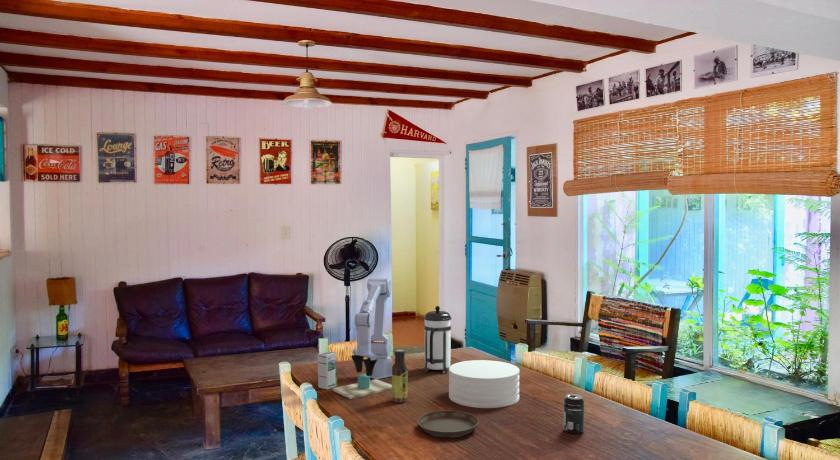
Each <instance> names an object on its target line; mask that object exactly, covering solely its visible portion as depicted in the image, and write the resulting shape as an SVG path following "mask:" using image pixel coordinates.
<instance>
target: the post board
mask: <svg viewBox="0 0 840 460" xmlns="http://www.w3.org/2000/svg"><path fill="white" fill-rule="evenodd" d="M332 391H333V392H334V393H336V394H339V395H341V396H343V397H345V398H347V399H350V400H351V399H355V398H361V397H366V396H369V395H373V394H378V393H382V392H387V391H392V383H388V382H385V381H382V380H380V379H372V380H371V379H370V388H368V389H359V388H358V382H356V383H351V384H347V385H342V386H341V385H340V386H337V387H333V388H332Z"/></svg>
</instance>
